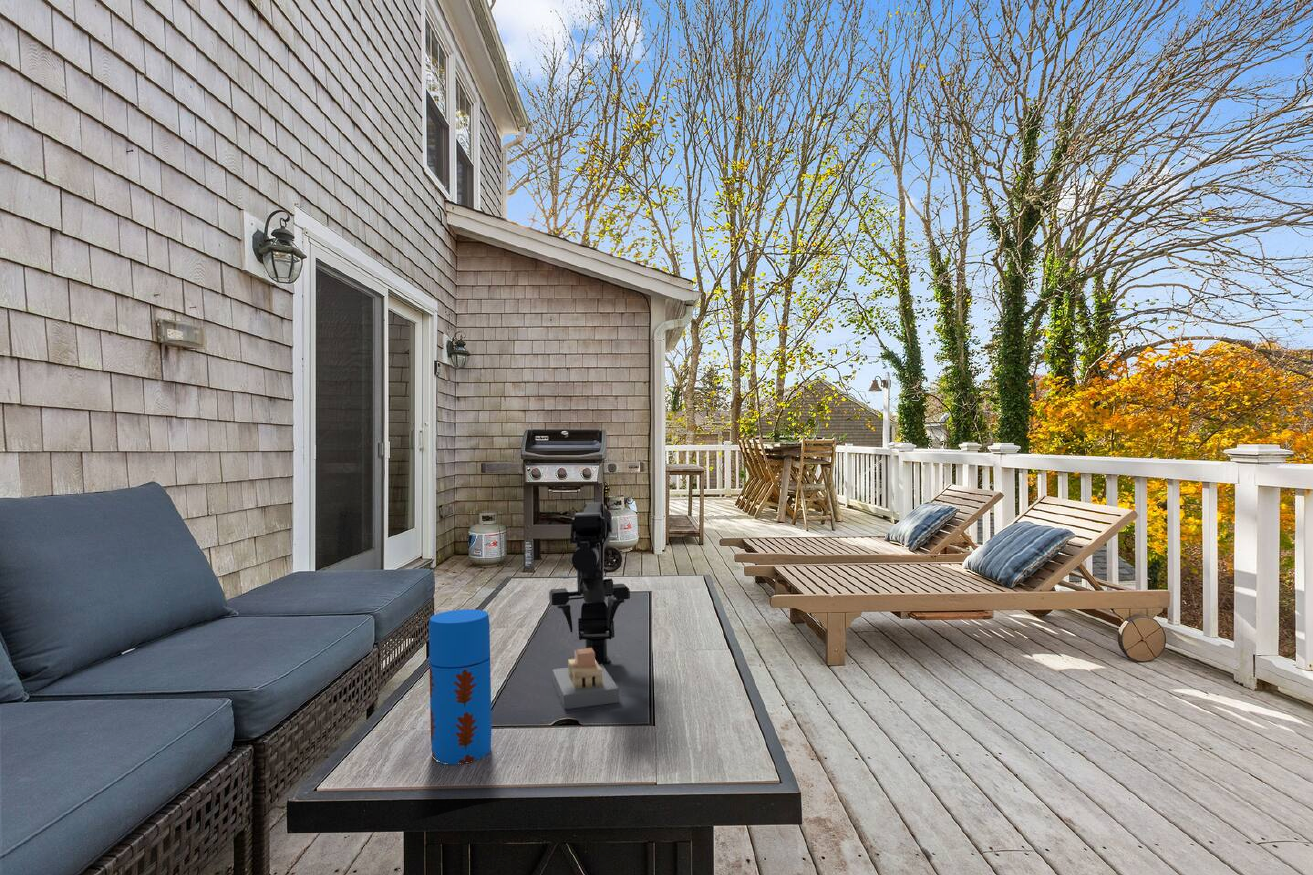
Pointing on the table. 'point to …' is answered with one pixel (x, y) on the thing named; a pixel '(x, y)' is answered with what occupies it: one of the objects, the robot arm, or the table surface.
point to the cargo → (584, 657)
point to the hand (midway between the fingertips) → (590, 630)
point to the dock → (584, 690)
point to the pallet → (584, 674)
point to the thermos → (460, 685)
